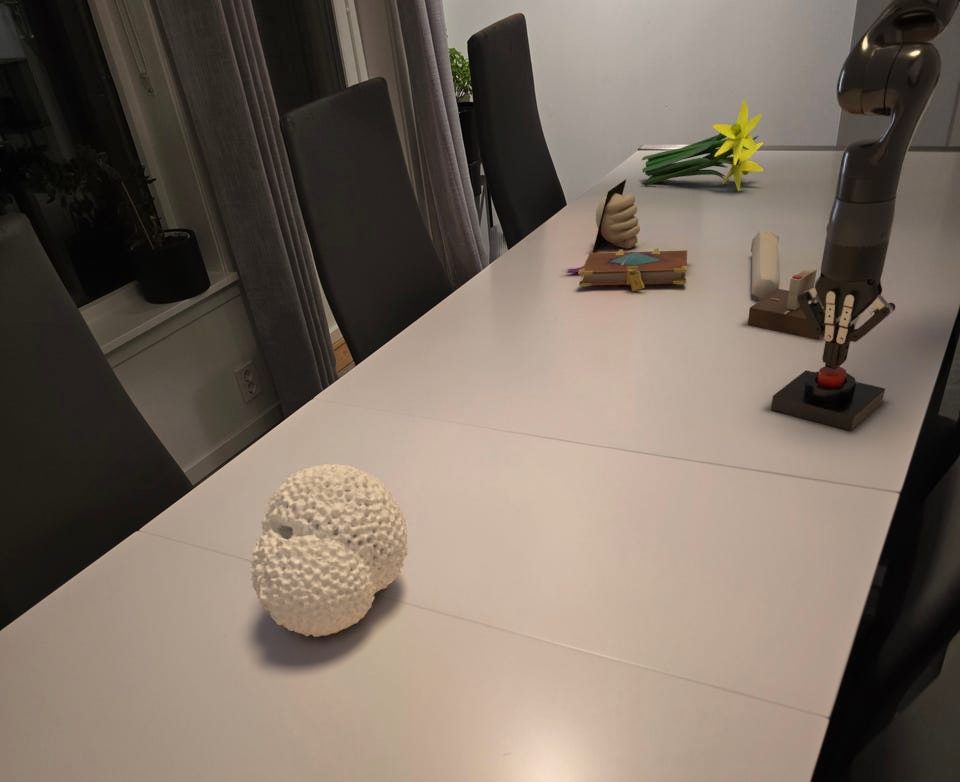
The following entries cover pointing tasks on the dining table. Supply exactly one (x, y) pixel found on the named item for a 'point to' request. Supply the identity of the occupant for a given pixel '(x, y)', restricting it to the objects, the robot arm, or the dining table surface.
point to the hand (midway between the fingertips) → (832, 366)
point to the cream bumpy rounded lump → (327, 548)
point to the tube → (765, 264)
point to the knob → (800, 286)
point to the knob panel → (780, 315)
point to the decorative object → (617, 219)
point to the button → (831, 377)
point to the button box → (828, 400)
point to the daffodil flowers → (710, 153)
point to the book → (634, 268)
